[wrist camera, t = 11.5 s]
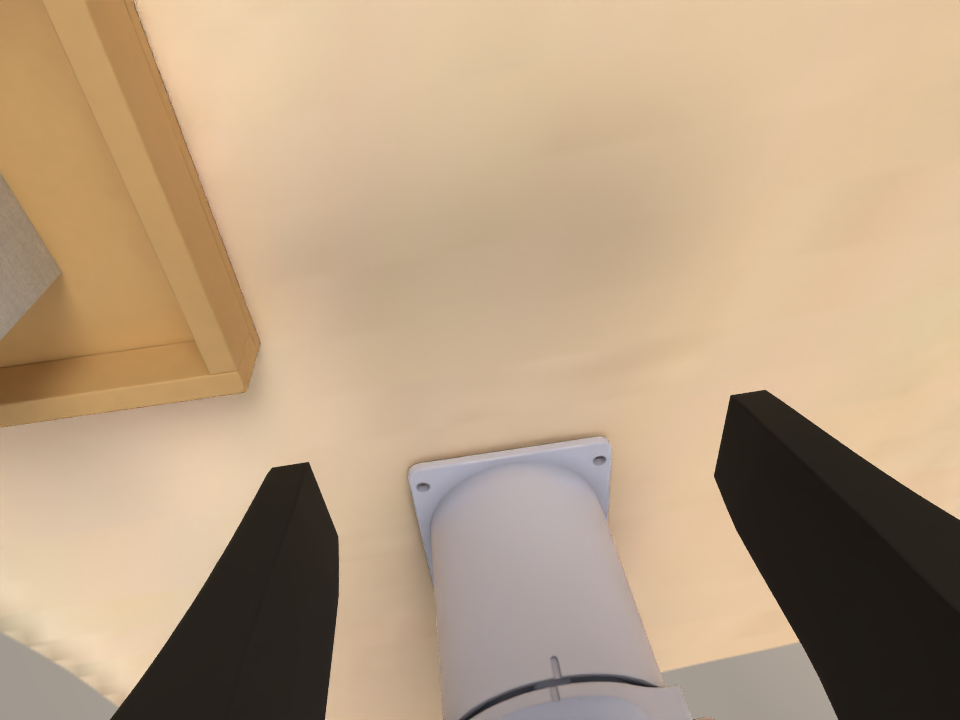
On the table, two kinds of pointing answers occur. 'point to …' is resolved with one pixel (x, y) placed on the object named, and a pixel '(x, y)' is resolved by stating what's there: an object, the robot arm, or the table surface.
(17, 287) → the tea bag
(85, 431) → the table surface
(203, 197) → the tray
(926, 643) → the robot arm
